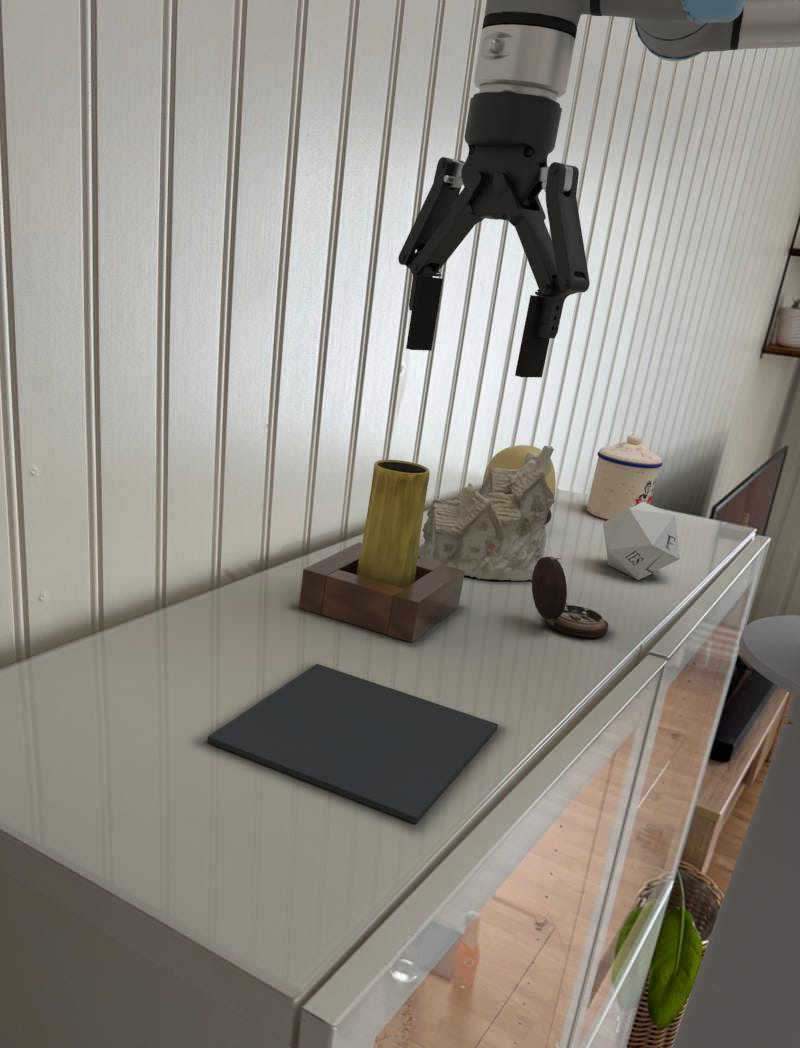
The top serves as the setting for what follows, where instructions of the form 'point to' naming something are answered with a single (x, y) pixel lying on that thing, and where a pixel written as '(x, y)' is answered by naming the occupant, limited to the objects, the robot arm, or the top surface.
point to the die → (641, 540)
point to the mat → (358, 740)
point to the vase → (394, 522)
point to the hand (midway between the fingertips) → (470, 362)
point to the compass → (562, 602)
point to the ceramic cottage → (494, 523)
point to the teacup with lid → (623, 478)
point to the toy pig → (519, 464)
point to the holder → (380, 595)
